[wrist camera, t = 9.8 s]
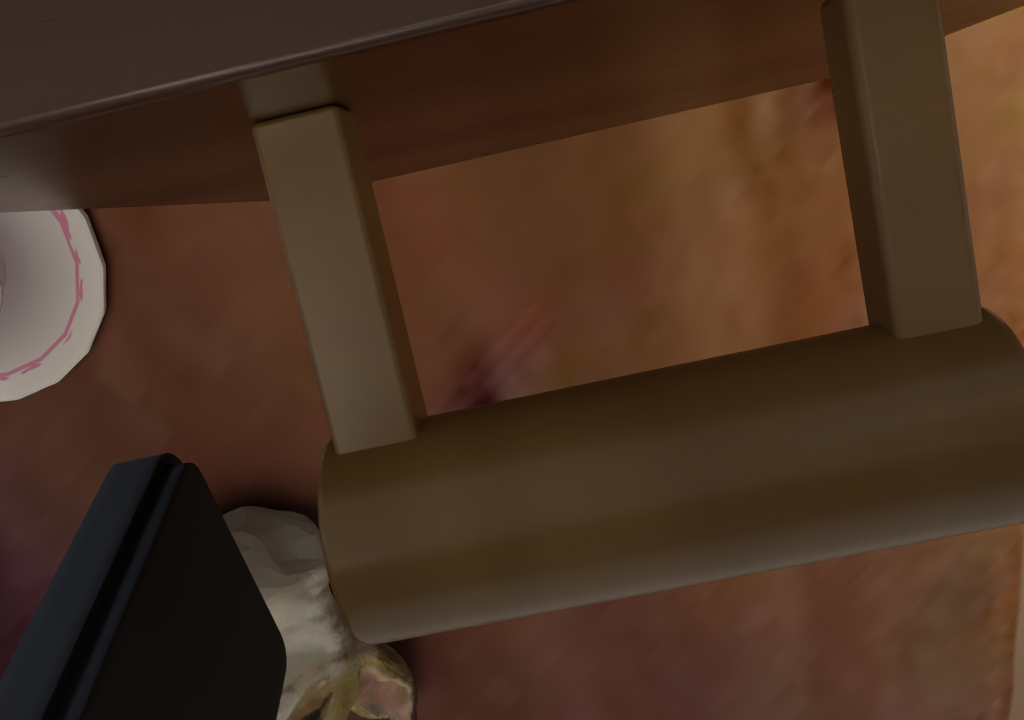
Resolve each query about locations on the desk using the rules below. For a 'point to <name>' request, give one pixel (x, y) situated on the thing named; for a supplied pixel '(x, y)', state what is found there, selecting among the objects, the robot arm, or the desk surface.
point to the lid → (583, 408)
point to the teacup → (47, 297)
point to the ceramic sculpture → (317, 626)
